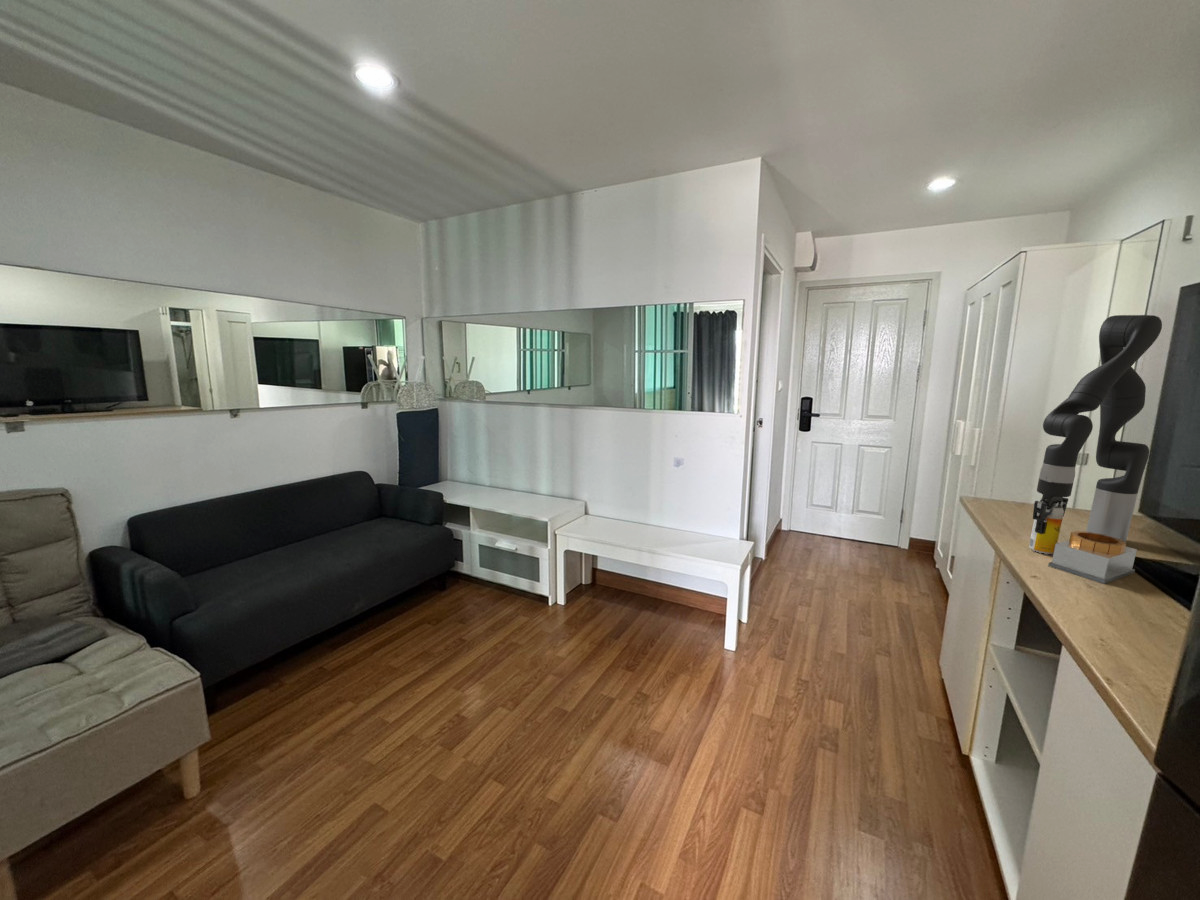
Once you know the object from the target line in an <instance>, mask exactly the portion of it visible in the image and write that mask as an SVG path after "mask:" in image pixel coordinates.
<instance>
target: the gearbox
mask: <svg viewBox="0 0 1200 900" xmlns="http://www.w3.org/2000/svg"><path fill="white" fill-rule="evenodd" d="M1137 551H1138V550H1137V548H1133V547H1130V546H1129V547H1128V546H1127V542H1126V543H1125V542H1124V541H1122V540H1120V539H1117V538H1114V537H1111V536H1107V535H1103V534H1098V533H1092V532H1086V531H1080V530H1077V531H1076V530H1075V531H1072V532H1070V535H1069V539H1067V540H1064V541H1060V542H1057V543H1056V545H1055V550H1054V553H1053V554H1052V555H1053V556H1052V560H1051V562H1048V565H1047V566H1048V567H1050V566H1051V567H1050V568H1053V567H1054V569H1056V568H1057V570H1059V569H1060V571H1062V570H1063V572H1065V573H1068V574H1071V575H1075V576H1078V577H1082V578H1084V579H1087V580H1090V579H1091V581H1094V582H1097V583H1100V584H1104V585H1106V584H1108V583H1110V582H1113V581H1115V580H1119V579H1121V578H1123V577H1126V576H1129V575H1132V574H1135V572H1136V569H1135V568H1133V567H1134V563H1135V558H1136V555H1137Z"/></svg>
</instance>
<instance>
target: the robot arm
mask: <svg viewBox="0 0 1200 900" xmlns="http://www.w3.org/2000/svg"><path fill="white" fill-rule="evenodd" d="M1162 328H1163V322H1162V319H1161V318H1160V317H1159V316H1157V315H1151V314H1150V315H1149V314H1137V315H1136V314H1129V315H1128V314H1127V315H1126V314H1120V315H1119V314H1118V315H1111V316H1109V317H1107V318H1106V319H1104V321H1103V322H1102V324H1101V325H1100V329H1099V332H1098V343H1099V344H1098V345H1099V355H1100V364H1101V365H1100V366H1098V367H1095V368H1094V369H1092V370H1091V371H1090V372H1088V373H1087V374H1085V375H1084V376H1083V377H1082V378H1080V380H1079V381H1078V382H1077V384H1076V385H1075V386H1074V388H1073V390H1072V391H1071V393H1069V395H1068V397H1067V398H1066V399H1064V400H1063V401H1062V402H1061V403H1059V405H1058V406H1056V407H1055V408H1054V409H1053V410H1051V411H1050V412H1049V413H1048V414H1047V416H1046V417H1045V418H1044V420H1043V422H1042V423H1043V424H1042V430H1043V431H1044V433H1046V434H1047V435H1049V436H1054V437H1060V438H1064V440H1063V442H1062V443H1057V444H1056V443H1054V444H1049V445H1047V447H1046V449H1045V452H1044V458H1043V462H1042V466H1041V468H1040V471H1039V475H1038V476H1039V477H1038V482H1037V486H1036V492H1037V493H1039V494H1041V495H1042V497H1041V499H1040V500H1035V501H1034V504H1033V514H1032V519H1033V520H1034V519H1035V520H1037V523H1036V528H1035V532H1036V533H1040V534H1044V533H1045V531H1046V526H1047V521H1048V519H1049V516H1052V512H1053V510H1054V508H1057V507H1060V508H1061V506H1062V507H1063V510H1064V514H1063V517H1064V516H1065V513H1066V509H1067V506H1068V502H1069V497H1071V496H1072V492H1073V487H1074V486H1073V485H1074V483H1075V477H1076V465H1077V461H1078V458H1079V453H1080V451H1081V450H1082V449H1083V446H1084V444H1085V443H1086V442H1087V440H1088V438H1089V437H1090V435H1091V433H1092V431H1093V427H1094V426H1093V422H1092V420H1091V418H1090V417H1089V416H1087V415H1084V414H1082V413H1088V412H1094V411H1095V410H1097V409H1098V408H1099V410H1100V411H1099V415H1100V416H1099V417H1100V418H1099V431H1098V432H1099V433H1098V438H1097V445H1096V452H1095V462H1096V464H1097V465H1098V466H1099V467H1101V468H1104V469H1109V470H1110V469H1111V470H1119V471H1123V472H1124V471H1125V473H1124V475H1121V476H1117V477H1107V478H1100V479H1098V480H1097V482H1096V486H1095V490H1094V495H1093V499H1092V504H1091V509H1090V513H1089V517H1088V522H1087V526H1086V531H1085V532H1092V533H1098V534H1103V535H1107V536H1111V537H1114V538H1117V539H1120V540H1122V541H1124V542H1125V543H1126V544H1127V539H1128V536H1129V531H1130V526H1131V522H1132V519H1133V515H1134V510H1135V506H1136V502H1137V497H1138V493H1139V489H1140V486H1141V482H1142V479H1143V475H1144V472H1145V469H1146V466H1147V463H1148V460H1149V457H1150V448H1149V447H1148V445H1146V444H1145V443H1139V442H1128V441H1119V440H1116V436H1117V433H1118V432H1119V431H1120V430H1121V428H1123V426H1125V425H1126V424H1127V423H1129V422H1130V421H1131V420H1132V419H1134V418H1135V417H1136V416H1137V415H1138V414H1139V413H1140V412H1141V411H1142V410H1143V409H1144V407H1145V403H1146V394H1147V393H1146V392H1147V391H1146V389H1147V388H1146V383H1145V382H1144V380H1143V379H1142V377H1141V375H1140V374H1138V373H1137V371H1136V370H1135V369H1134V368H1133V367H1132V366H1133V365H1134V364H1135V363H1136V362H1137V361H1138V360H1139V359H1140V358H1141V357H1142V356H1144V354H1145V353H1146V352H1147V351H1148V350H1149V349H1150V347H1152V345H1153V344H1155V342H1156V340H1157V339H1158V337H1159V336H1160V333H1161V331H1162ZM1046 509H1051V510H1050V512H1046ZM1037 513H1038V514H1037ZM1045 515H1046V516H1045ZM1040 516H1041V517H1040Z"/></svg>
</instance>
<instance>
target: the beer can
mask: <svg viewBox="0 0 1200 900" xmlns="http://www.w3.org/2000/svg"><path fill="white" fill-rule="evenodd" d="M1050 510H1051V509H1046V512H1050ZM1037 514H1038V513H1037ZM1063 514H1064V510H1063V507H1062V506H1061V508H1060V507H1057V508H1054V510H1053V512H1052V516H1049V519H1048V521H1047V526H1046V531H1045V533H1044V534H1040V533H1036V532H1035V528H1036V523H1037V520H1035V519H1033V524H1032V528H1031V535H1030V538H1029V539H1030V540H1029V544H1028V547H1029V549H1030V550H1031V549H1032V550H1033V551H1032V550H1031V551H1032V552H1034V551H1036V552H1035V553H1037V552H1039V553H1038V554H1041V553H1044V554H1043V555H1047V554H1051V555H1053V554H1054V550H1055V545H1056V543H1059V542H1058V541H1059V537H1060V531H1061V527H1062V522H1063V518H1064V516H1063ZM1064 515H1065V514H1064ZM1045 516H1046V515H1045ZM1040 517H1041V516H1040Z"/></svg>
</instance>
